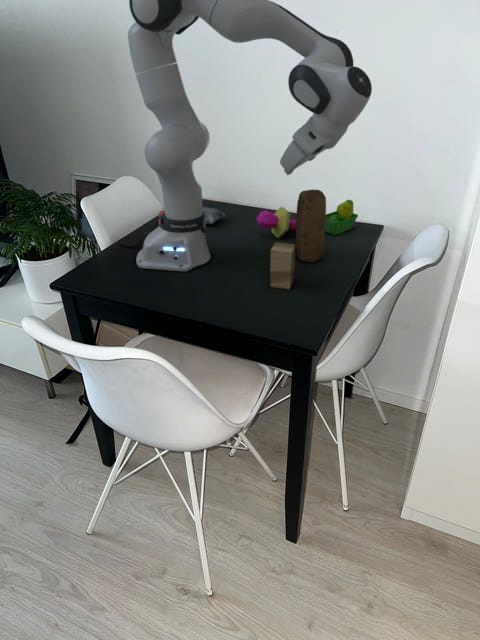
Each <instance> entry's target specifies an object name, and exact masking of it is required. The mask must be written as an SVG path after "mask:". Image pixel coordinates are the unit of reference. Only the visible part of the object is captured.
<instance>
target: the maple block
mask: <svg viewBox="0 0 480 640" xmlns="http://www.w3.org/2000/svg"><path fill="white" fill-rule="evenodd" d="M295 258H296V243H295V244H294V243H286V242H278V241H277V242H276V241H275V242H274V244H273V246H272V247H271V249H270V268H269V269H270V271H269V273H270V274H269V275H270V276H269V277H270V278H269V287H270V288H274V289H275V288H276V289H283V290H284V289H285V290H290V289H292V288H291V287H292V285H293V282H294V280H295V279H294V278H295V260H296V259H295Z"/></svg>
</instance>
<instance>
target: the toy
mask: <svg viewBox="0 0 480 640" xmlns="http://www.w3.org/2000/svg"><path fill="white" fill-rule="evenodd" d="M256 223H257V225H258V226H259V227H260V228H261V229H263V230H265V229H266V230H267V229H271V232H270V233H272V234H273V236H275V238H277V239H278V238H279V239H280V238H282V237H283V236H284V235H285V234H286V233H287V232H288V231H296V219H293V218H291V213H290V212H289V211H288V210H287V209H286V208H285V207H283V206H280V207H279V208H278V209H277V210H276V211H275V212H274V213H272V212H270V211H269V210H266V209H265V210H262V211H260V212H259V214H258V215H257V216H256Z"/></svg>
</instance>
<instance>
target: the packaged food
mask: <svg viewBox="0 0 480 640" xmlns="http://www.w3.org/2000/svg"><path fill="white" fill-rule="evenodd" d="M203 212H204V215H205V225H213V224H215V223H216V222H218V221H221V220H222V219H223V218H224V217H226V214H225V212H223V211H222V210H220V209H218V208H214V207H208V206H203Z"/></svg>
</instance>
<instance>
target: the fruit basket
mask: <svg viewBox="0 0 480 640" xmlns="http://www.w3.org/2000/svg"><path fill="white" fill-rule="evenodd" d="M354 208H355V207H354V201H353V200H352V199H346V200H345V201H343V202H341V203H340V204H338V205H337V206H336V210H335V211H332V212H329V213H326V222H325V233H328V234H330V235H333V236H337V235H338V234H342V233H344V232H347V231H350V230H352V229H353V227H354V226H355V223H356V221H357V218H359V217H358V216H359V214H357V213H354Z"/></svg>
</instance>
